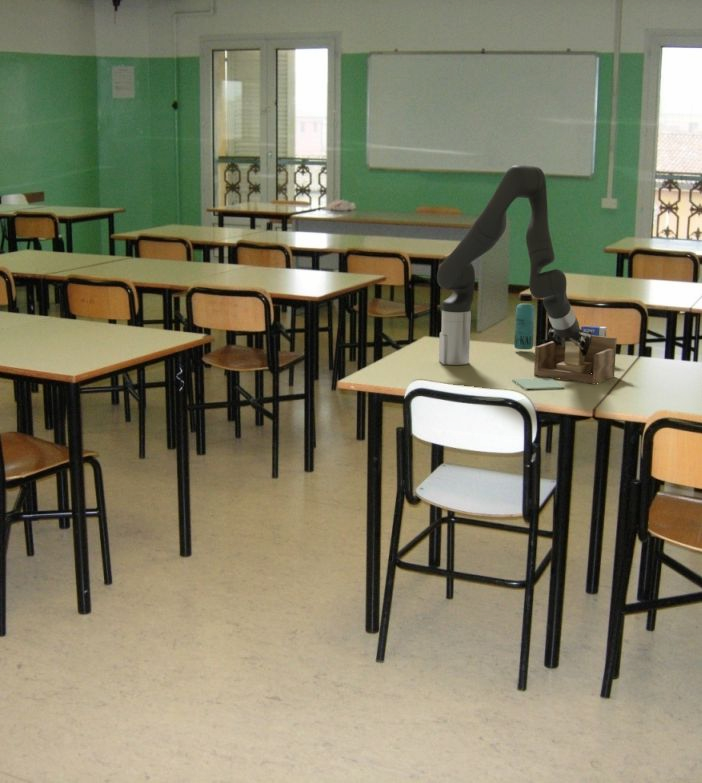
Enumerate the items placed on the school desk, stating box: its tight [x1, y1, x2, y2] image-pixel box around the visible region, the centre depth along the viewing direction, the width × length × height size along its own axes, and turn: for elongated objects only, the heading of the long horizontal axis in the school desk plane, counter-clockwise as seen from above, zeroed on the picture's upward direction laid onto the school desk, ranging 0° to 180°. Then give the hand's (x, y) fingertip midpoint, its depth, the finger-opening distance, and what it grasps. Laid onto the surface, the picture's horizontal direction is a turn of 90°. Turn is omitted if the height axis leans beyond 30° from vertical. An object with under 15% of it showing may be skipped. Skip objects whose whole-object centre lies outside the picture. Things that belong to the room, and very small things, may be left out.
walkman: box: [580, 325, 608, 337], centre depth 349 cm, size 8×3×12 cm, turn 69°
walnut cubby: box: [533, 335, 618, 385], centre depth 328 cm, size 14×20×12 cm
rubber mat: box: [511, 377, 566, 390], centre depth 317 cm, size 12×12×1 cm
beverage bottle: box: [513, 293, 536, 350], centre depth 364 cm, size 6×7×20 cm
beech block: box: [564, 338, 585, 365], centre depth 327 cm, size 4×4×8 cm
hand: (577, 352), depth 329 cm, fingers closed on beech block, 4 cm apart
